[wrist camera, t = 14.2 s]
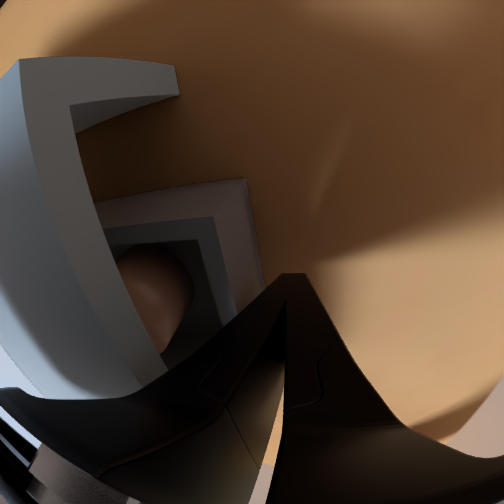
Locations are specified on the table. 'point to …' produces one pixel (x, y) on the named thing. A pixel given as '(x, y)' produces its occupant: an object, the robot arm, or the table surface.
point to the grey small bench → (67, 229)
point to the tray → (194, 250)
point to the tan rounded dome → (156, 289)
